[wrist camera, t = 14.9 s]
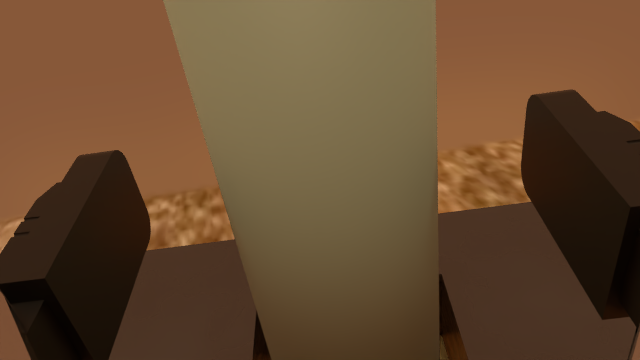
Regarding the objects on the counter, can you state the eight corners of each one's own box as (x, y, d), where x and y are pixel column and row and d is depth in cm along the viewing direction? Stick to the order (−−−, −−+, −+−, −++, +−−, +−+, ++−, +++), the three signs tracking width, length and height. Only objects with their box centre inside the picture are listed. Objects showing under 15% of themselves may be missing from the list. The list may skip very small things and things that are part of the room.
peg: (467, 412, 16) (487, -88, 8) (384, 539, 14) (302, 0, 6) (354, 344, 19) (289, -87, 11) (267, 440, 17) (101, -25, 9)
